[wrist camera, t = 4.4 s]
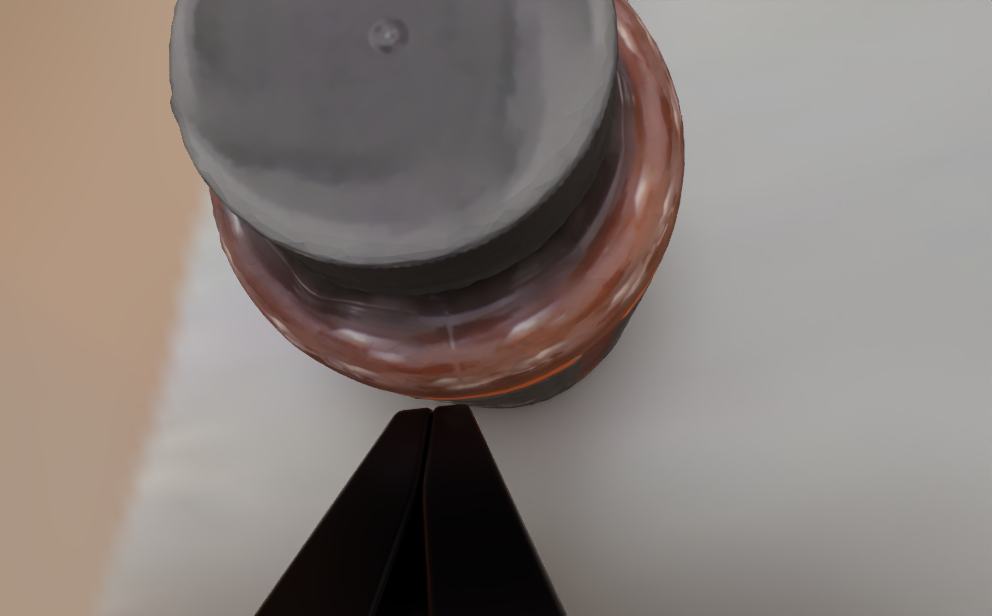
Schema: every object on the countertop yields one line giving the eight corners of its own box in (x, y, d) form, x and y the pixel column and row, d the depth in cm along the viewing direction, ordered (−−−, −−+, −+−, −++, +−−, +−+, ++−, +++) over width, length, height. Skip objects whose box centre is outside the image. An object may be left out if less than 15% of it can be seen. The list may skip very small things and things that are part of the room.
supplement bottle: (588, 124, 18) (631, -368, 7) (666, 367, 17) (868, 261, 6) (347, 198, 18) (2, -160, 7) (411, 441, 17) (129, 478, 6)
